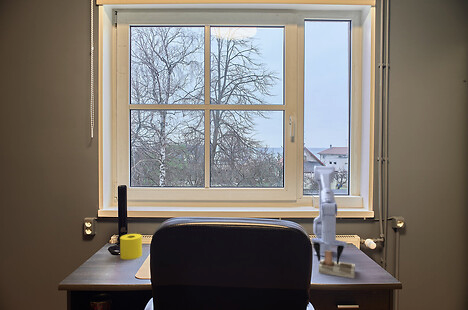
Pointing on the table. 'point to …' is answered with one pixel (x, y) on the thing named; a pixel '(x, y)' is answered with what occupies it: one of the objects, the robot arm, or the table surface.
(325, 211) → the robot arm
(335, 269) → the bore block
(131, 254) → the tape roll
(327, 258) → the dowel
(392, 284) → the table surface
